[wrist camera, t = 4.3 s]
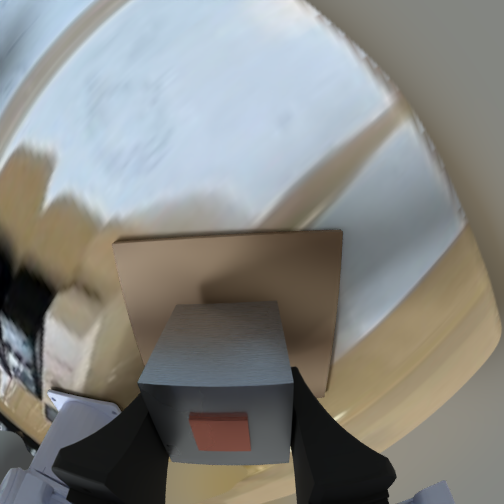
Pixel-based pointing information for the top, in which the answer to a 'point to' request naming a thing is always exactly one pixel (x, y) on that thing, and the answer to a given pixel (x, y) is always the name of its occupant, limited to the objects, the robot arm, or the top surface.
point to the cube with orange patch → (222, 385)
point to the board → (239, 286)
